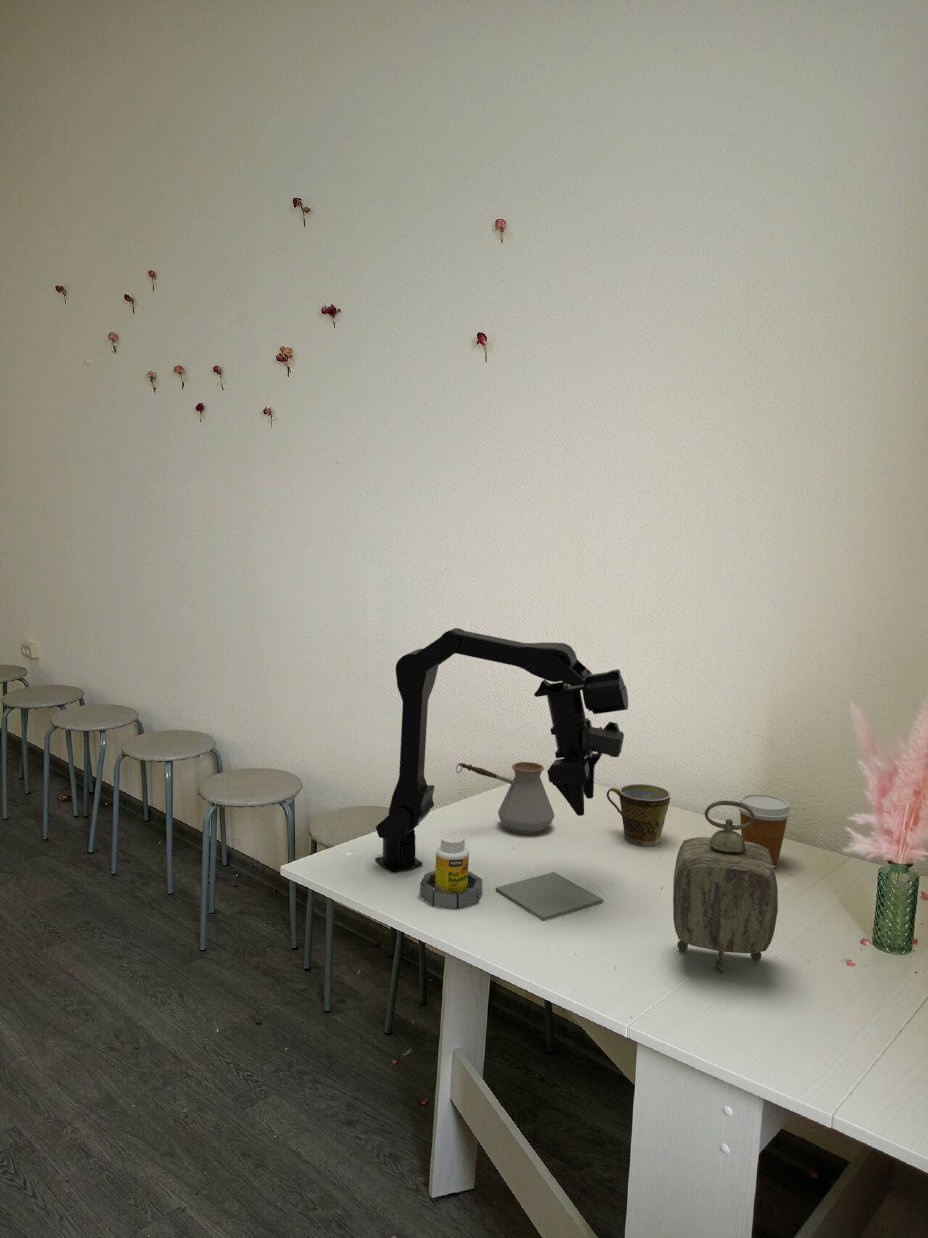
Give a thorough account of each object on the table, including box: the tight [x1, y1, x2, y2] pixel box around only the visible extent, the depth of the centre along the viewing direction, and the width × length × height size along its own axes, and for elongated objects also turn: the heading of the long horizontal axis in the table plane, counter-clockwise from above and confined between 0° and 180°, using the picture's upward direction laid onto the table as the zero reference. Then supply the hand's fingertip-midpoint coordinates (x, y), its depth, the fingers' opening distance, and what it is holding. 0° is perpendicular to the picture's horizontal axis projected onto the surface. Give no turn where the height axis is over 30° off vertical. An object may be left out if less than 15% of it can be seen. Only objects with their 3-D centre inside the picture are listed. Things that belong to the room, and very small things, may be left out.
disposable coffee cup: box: [737, 793, 792, 866], centre depth 177 cm, size 10×10×12 cm
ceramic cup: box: [606, 783, 671, 847], centre depth 187 cm, size 13×10×10 cm
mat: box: [495, 871, 604, 922], centre depth 160 cm, size 13×13×1 cm
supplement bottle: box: [435, 833, 470, 892], centre depth 159 cm, size 6×6×10 cm
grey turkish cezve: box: [455, 761, 555, 835], centre depth 189 cm, size 21×12×15 cm, turn 113°
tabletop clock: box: [672, 800, 779, 973], centre depth 137 cm, size 14×9×25 cm, turn 77°
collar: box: [419, 870, 483, 910], centre depth 159 cm, size 10×10×2 cm
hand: (585, 806), depth 160 cm, fingers open, 9 cm apart
